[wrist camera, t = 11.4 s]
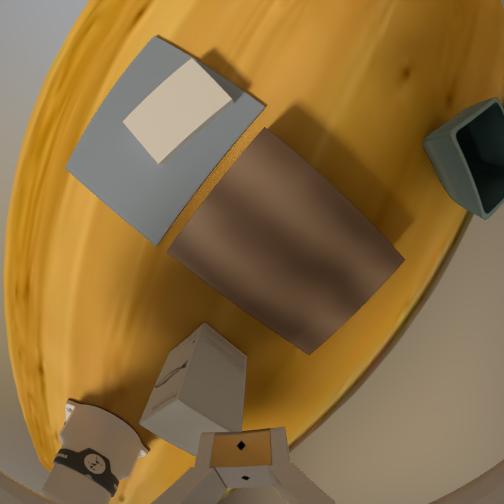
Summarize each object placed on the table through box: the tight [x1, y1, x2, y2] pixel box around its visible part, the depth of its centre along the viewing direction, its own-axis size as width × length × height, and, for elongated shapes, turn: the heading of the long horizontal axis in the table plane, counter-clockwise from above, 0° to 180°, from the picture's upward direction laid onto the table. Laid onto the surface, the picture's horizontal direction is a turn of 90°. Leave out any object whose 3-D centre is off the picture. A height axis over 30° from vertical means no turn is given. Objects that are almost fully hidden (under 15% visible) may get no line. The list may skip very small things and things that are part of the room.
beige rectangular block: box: [123, 58, 234, 164], centre depth 24 cm, size 9×6×2 cm, turn 130°
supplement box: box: [139, 322, 248, 456], centre depth 27 cm, size 7×7×13 cm
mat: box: [65, 36, 265, 246], centre depth 25 cm, size 18×15×1 cm
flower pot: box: [423, 97, 504, 220], centre depth 21 cm, size 9×9×9 cm
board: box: [167, 127, 405, 355], centre depth 27 cm, size 14×18×4 cm
